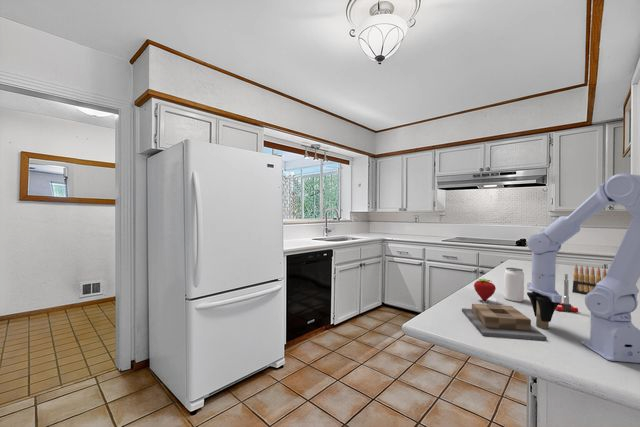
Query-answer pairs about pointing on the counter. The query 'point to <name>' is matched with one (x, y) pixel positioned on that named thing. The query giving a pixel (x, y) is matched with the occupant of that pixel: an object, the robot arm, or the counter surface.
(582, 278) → the ammunition clip
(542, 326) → the peg
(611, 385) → the counter surface
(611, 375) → the counter surface
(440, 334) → the counter surface
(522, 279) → the can
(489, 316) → the holder
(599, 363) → the counter surface
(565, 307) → the tow hook
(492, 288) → the strawberry
